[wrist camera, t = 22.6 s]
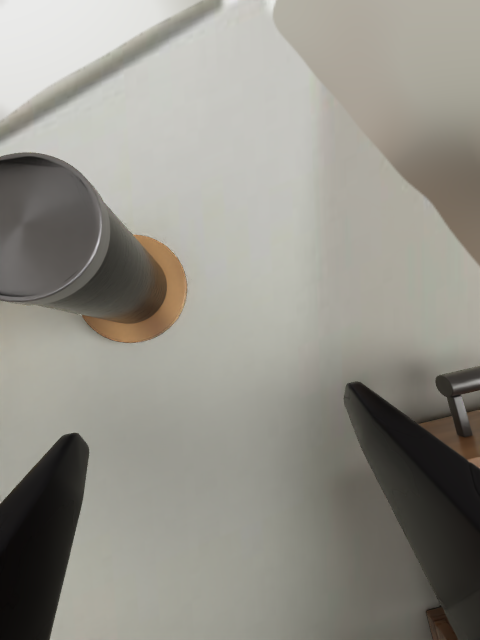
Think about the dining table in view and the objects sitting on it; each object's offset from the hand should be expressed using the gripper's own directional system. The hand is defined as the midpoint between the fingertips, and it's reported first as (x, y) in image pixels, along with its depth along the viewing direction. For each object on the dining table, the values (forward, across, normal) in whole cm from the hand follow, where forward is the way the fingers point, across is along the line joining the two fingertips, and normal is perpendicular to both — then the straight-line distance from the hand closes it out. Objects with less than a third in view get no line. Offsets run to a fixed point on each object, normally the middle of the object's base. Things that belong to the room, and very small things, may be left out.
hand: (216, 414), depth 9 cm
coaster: (+14, +6, +2) cm, 16 cm away
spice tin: (+14, +6, +2) cm, 15 cm away
